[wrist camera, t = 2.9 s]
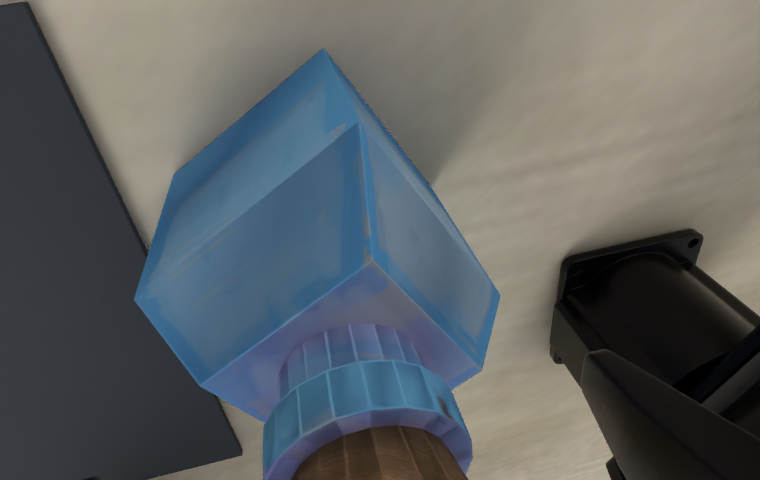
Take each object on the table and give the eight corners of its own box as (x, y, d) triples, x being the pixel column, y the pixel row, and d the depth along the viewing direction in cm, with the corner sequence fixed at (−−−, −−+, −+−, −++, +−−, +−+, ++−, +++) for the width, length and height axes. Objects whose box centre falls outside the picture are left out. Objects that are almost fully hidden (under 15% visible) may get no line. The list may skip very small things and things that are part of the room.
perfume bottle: (173, 175, 16) (33, 613, 6) (323, 47, 14) (464, 328, 5) (301, 283, 19) (350, 675, 9) (431, 187, 18) (644, 519, 8)
